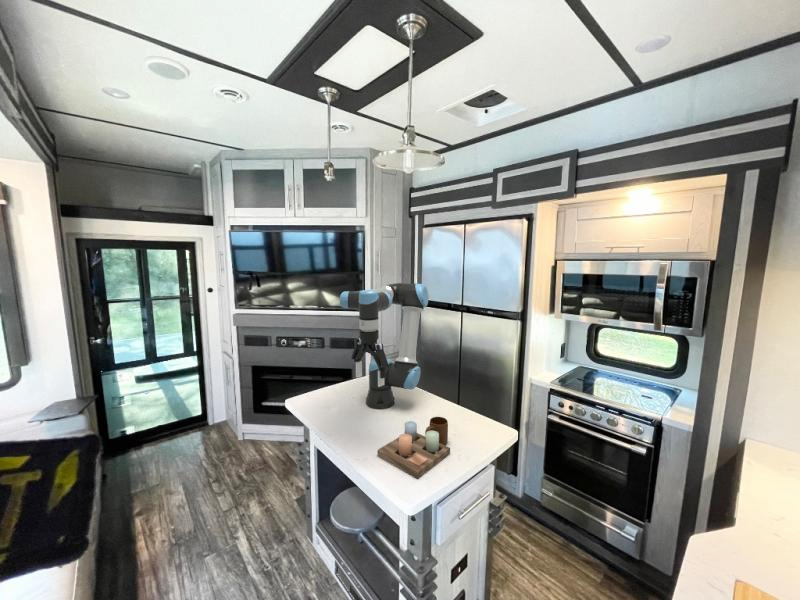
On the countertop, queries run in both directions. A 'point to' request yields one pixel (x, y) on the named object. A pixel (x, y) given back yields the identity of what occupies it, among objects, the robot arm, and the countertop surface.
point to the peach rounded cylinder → (405, 444)
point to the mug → (439, 428)
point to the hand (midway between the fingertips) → (369, 381)
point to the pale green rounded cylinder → (432, 441)
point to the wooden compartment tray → (413, 456)
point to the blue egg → (411, 429)
